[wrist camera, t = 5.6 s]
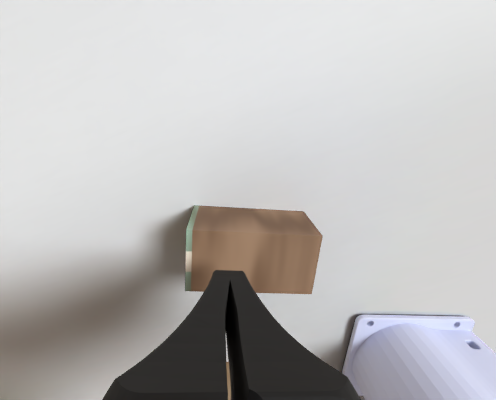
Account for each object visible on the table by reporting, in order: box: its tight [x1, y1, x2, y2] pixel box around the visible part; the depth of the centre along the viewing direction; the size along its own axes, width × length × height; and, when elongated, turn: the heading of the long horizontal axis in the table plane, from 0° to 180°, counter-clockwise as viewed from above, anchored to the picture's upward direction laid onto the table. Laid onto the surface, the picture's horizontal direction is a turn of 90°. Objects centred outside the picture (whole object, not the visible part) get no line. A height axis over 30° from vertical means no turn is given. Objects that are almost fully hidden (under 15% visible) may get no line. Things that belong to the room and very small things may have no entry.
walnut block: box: [185, 206, 322, 294], centre depth 16 cm, size 4×4×7 cm
